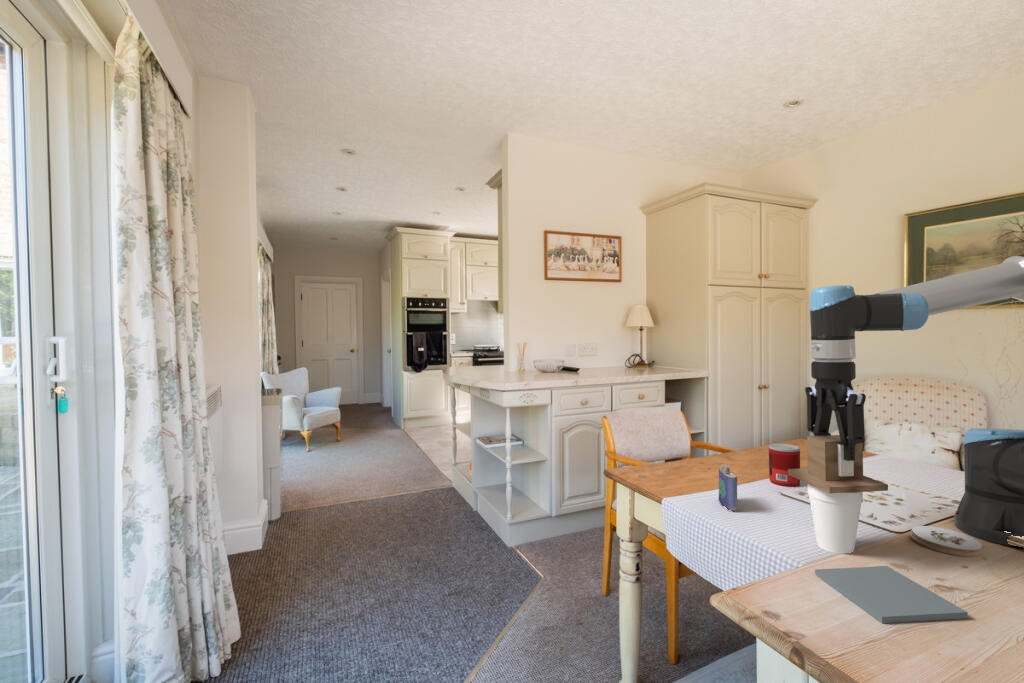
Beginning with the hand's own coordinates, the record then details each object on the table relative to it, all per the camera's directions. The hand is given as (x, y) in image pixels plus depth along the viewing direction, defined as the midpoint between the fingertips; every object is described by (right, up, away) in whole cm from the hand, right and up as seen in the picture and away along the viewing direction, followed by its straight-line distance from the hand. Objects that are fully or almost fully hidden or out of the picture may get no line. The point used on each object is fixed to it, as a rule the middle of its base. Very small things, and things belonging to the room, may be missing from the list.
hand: (834, 471), depth 93 cm
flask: (-11, -16, +24) cm, 31 cm away
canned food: (+14, -15, +40) cm, 45 cm away
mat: (-4, -16, -17) cm, 24 cm away
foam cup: (0, -16, 0) cm, 16 cm away
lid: (0, -2, 0) cm, 2 cm away
